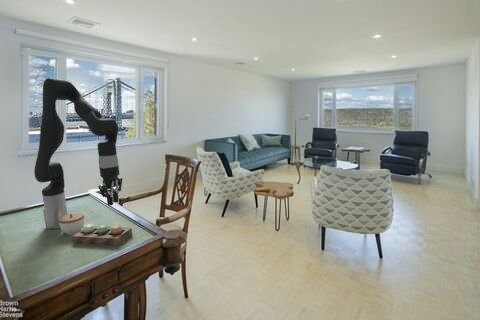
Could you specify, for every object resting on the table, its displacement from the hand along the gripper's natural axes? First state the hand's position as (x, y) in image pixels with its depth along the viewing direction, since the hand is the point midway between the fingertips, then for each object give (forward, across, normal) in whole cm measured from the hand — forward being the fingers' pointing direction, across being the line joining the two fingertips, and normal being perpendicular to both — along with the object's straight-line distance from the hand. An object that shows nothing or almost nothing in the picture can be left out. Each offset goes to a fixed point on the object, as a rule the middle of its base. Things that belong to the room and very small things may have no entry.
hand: (113, 203), depth 120 cm
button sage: (+14, 0, -7) cm, 15 cm away
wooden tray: (+17, 0, -7) cm, 19 cm away
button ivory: (+14, 0, -14) cm, 20 cm away
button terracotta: (+14, 0, 0) cm, 14 cm away
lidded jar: (+17, -5, -27) cm, 32 cm away
